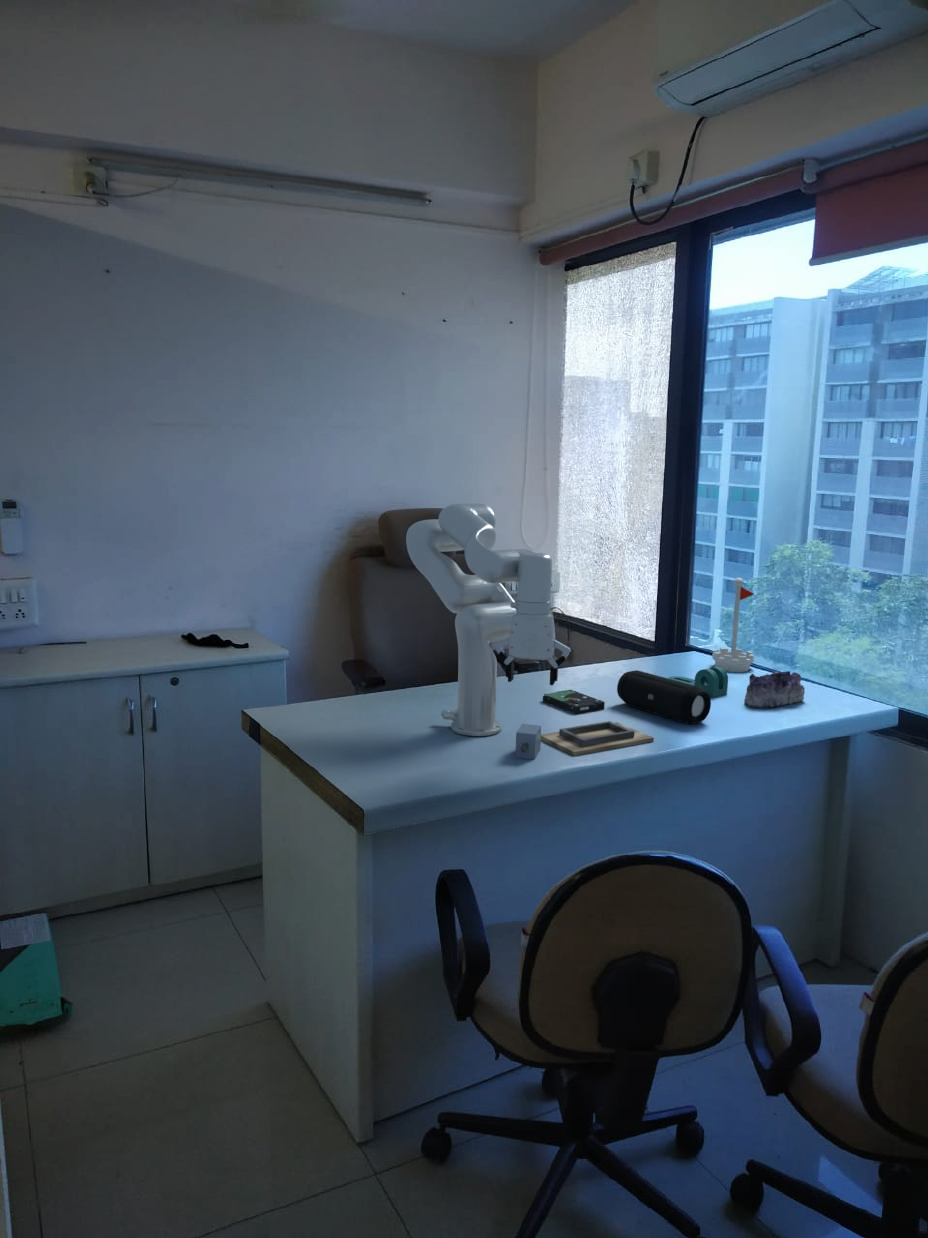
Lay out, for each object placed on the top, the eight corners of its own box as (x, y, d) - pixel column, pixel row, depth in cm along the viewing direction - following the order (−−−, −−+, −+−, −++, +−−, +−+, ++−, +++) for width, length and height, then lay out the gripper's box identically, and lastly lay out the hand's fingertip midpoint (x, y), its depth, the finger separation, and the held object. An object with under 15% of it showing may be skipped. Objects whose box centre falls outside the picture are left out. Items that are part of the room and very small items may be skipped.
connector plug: (513, 761, 207) (514, 735, 206) (522, 746, 217) (523, 722, 216) (532, 763, 206) (533, 737, 205) (541, 748, 216) (542, 724, 215)
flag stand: (713, 671, 296) (720, 579, 290) (709, 662, 308) (716, 574, 303) (755, 674, 294) (763, 581, 288) (749, 664, 306) (757, 575, 301)
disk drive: (605, 711, 250) (570, 698, 262) (605, 701, 249) (570, 688, 262) (576, 717, 244) (541, 702, 256) (576, 706, 244) (541, 693, 256)
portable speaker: (613, 705, 254) (615, 670, 252) (637, 700, 260) (640, 666, 258) (687, 729, 234) (690, 691, 232) (711, 722, 240) (714, 685, 238)
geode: (771, 714, 250) (768, 678, 249) (735, 709, 259) (733, 674, 258) (813, 700, 262) (811, 665, 261) (777, 696, 271) (775, 662, 270)
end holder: (539, 738, 223) (539, 729, 223) (616, 726, 235) (617, 716, 234) (573, 756, 211) (574, 745, 211) (653, 741, 223) (654, 731, 223)
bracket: (726, 695, 268) (728, 669, 267) (713, 698, 264) (715, 672, 262) (676, 682, 282) (678, 657, 280) (662, 685, 277) (664, 660, 276)
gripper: (492, 608, 205) (490, 683, 208) (569, 613, 200) (566, 689, 203) (499, 603, 212) (498, 675, 215) (574, 607, 207) (571, 681, 210)
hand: (531, 682), depth 209 cm, fingers open, 9 cm apart
